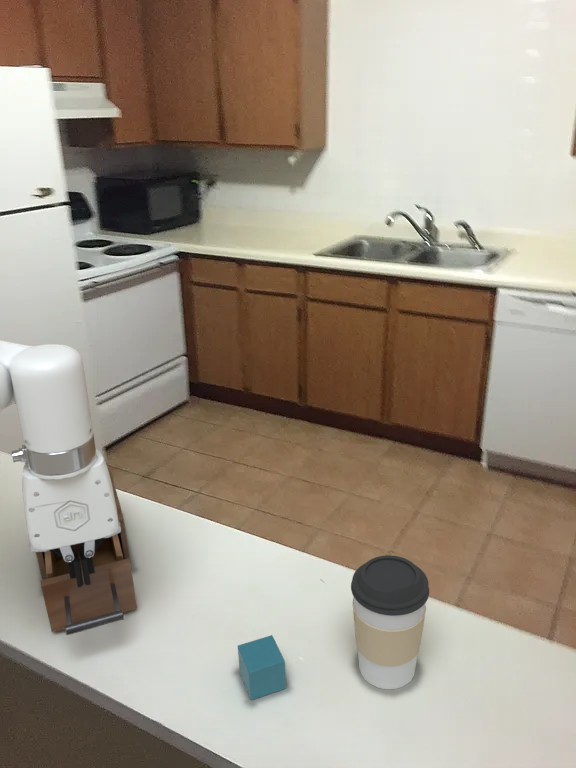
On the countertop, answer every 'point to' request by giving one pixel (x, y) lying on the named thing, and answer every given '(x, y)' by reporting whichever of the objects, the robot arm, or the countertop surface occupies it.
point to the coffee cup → (389, 619)
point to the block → (262, 667)
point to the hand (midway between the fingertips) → (83, 578)
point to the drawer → (89, 590)
